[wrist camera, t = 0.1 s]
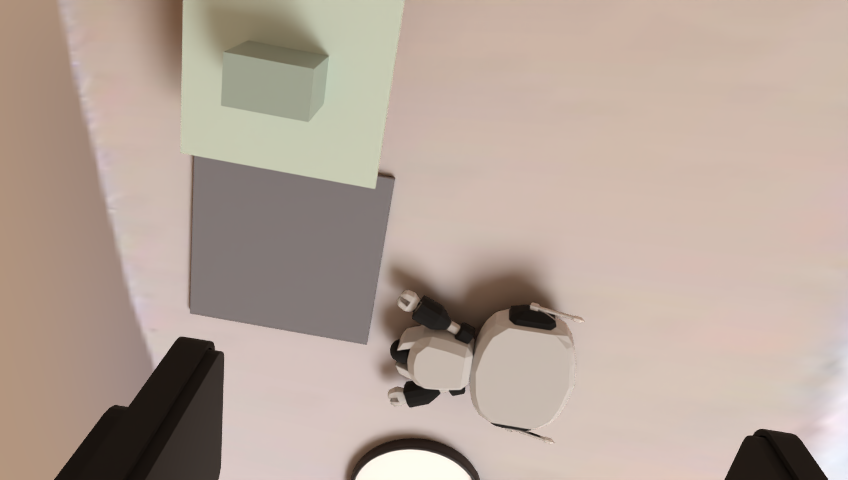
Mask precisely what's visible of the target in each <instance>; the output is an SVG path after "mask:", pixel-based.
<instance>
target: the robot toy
mask: <svg viewBox="0 0 848 480" xmlns="http://www.w3.org/2000/svg"><path fill="white" fill-rule="evenodd" d="M402 297H403V298H402ZM404 298H405V299H404ZM397 302H398V306H399V307H400V308H401V309H403V310H404V311H409V312H414V313H413V315H412V319H413V320H415V321H417V322H419V323H420V324H422V325H421V326H417V327H410V328H407V329H406V330H405V331H404V333H403V334H402V335H401V339H398V340H396V341H395V342H393V344H392V345H391V348H390V353H391V356H392V358H393V359H394V360H396V361H397V362H396V367H397V370H398V372H399V374H401V375H403V376H405V377H407V378H409V379H411V380H412V381H408V382H406V384H405V385H404V388H401V387H395V388H393V389H390V390H389V392H388V398H391V400H390V402H391V404H392V405H393V406H402V405H404V404H405V403H406V402H407V404H408V406H409V407H415V406H420V405H425V404H429V403H430V402H431V401H433V400H434V399H435V398H436V397H437V396H438V395H439V394H440V393H445V392H450V394H451V395H452V396H455V395H460V394H464V393H465V386H466V385H468V382H469V376H470V393H471V399H472V402H473V405H474V407H475V409H476V410H477V412H478V413H479V415H481V416H482V417H483V418H485V419H486V420H488V421H489V422H491V424H493V425H495V426H498V427H501V428H505V430H508V431H511V432H512V431H516V432H519V433H522V434H525V435H528V436H531V437H533V438H536V439H539V440H542V441H544V442H545V443H548V444H552V443H554V441H553V440H552V439H551V438H548V437H543V436H540V435H537V434H534V433H531V432H528V431H529V430H535V429H538V428H541V427H544V426H547V425H548V424H549V423H551V422H552V421H554V420H555V419H556V418H557V417H558V416H559V414H560V413H561V411H562V410H563V408H564V407H565V405H566V403H567V401H568V399H569V397H570V395H571V392H572V390H573V388H574V386H575V373H576V358H575V349H574V343H573V337H572V333H571V331H570V330H569V328H568V326H567V324H566V323H565V322H563V321H562V320H560V319H558V318H557V317H555V315H557V316H561V317H564V318H568V319H571V320H573V321H575V322H579V323H581V322H585V321H584V320H583V319H582V318H581V317H578V316H572V315H568V314H565V313H561V312H558V311H554V310H551V309H547V308H544V307H541V306H540V304H537V303H533V302H532V303H531V305H520V306H511V308H510V309H506V310H502V311H498V312H496V313H495V314H493V315H492V316H491V317H490V318H489V319H488V320H487V321H486V322H485V323H484V325H483V327H482V328H481V330H480V332H479V334H478V336H477V339H476V342H475V345H474V338H473V337H474V333H475V328H473V327H471V326H470V325H468V324H466V323H465V322H463V323H461V324H460V325H458V324H457V323H455V322H453V321H452V320H451V319H450V317H449V315H448V313H447V312H446V310H445V309H444V307H443V306H442V305H440V304H439V303H437V302H435V301H434V300H432V299H430V298H429V297H427V296H425V295H424V297H423V298H422V299H421V300H420V298H419V297H418V296H417V294H416V293H415V292H412V291H409V290H406V291H403V293H402V295H401V297H399V299H398V301H397Z"/></svg>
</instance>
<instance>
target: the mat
mask: <svg viewBox="0 0 848 480" xmlns="http://www.w3.org/2000/svg"><path fill="white" fill-rule="evenodd" d="M394 181H395V178H393V177H388V176H383V175H378V176H377V183H376V187H375V189H372V188H367V187H361V186H356V185H351V184H345V183H340V182H334V181H329V180H324V179H318V178H313V177H307V176H302V175H297V174H291V173H286V172H280V171H275V170H270V169H264V168H259V167H253V166H248V165H243V164H237V163H232V162H226V161H221V160H216V159H210V158H205V157H199V156H194V179H193V217H192V256H191V294H190V313H191V314H196V315H202V316H208V317H213V318H219V319H224V320H230V321H236V322H241V323H247V324H253V325H258V326H264V327H269V328H275V329H281V330H286V331H292V332H298V333H303V334H309V335H315V336H320V337H326V338H331V339H337V340H343V341H348V342H354V343H360V344H365V345H367V341H368V335H369V329H370V323H371V317H372V311H373V305H374V299H375V293H376V288H377V282H378V276H379V270H380V264H381V258H382V252H383V246H384V240H385V234H386V228H387V222H388V216H389V210H390V204H391V198H392V193H393V187H394Z"/></svg>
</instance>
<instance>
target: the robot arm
mask: <svg viewBox="0 0 848 480" xmlns="http://www.w3.org/2000/svg"><path fill="white" fill-rule="evenodd" d="M223 380H224V353H223V352H222V351H216V350H215V346H214V343H213V342H212V341H206V340H200V339H194V338H187V337H179V338H178V339H177V340H176V341H175V342H174V344H173V345H172V347H171V348H170V349H169V351H168V352H167V354H166V355H165V356H164V358H163V359H162V361H161V362H160V363H159V365H158V366H157V368H156V369H155V370H154V372H153V373H152V375H151V376H150V377H149V379H148V380H147V382H146V383H145V384H144V386H143V387H142V389H141V390H140V391H139V393H138V394H137V396H136V397H135V398H134V400H133V401H132V403H131V404H130V405H129V407H125V406H118V405H114V406H112V407H110V408H109V409H108V410H107V411H106V412H105V413H104V414H103V416H102V417H101V418H100V420H99V421H98V422H97V424H96V425H95V426H94V428H93V429H92V430H91V432H90V433H89V434H88V436H87V437H86V438H85V439H84V441H83V442H82V444H81V445H80V446H79V447H78V449H77V450H76V452H75V453H74V454H73V455H72V457H71V458H70V459H69V461H68V462H67V463H66V465H65V466H64V467H63V469H62V470H61V471H60V473H59V474H58V476H57V477H56V478H55V479H54V480H218V479H219V475H220V469H221V446H222V413H223ZM725 480H828V478H827V477H826V476H825V474H824V473H823V471H822V470H821V468H820V467H819V465H818V464H817V463H816V461H815V460H814V458H813V457H812V455H811V454H810V453H809V451H808V450H807V448H806V447H805V445H804V444H803V442H802V441H801V440H800V439H799V438H798V436H796V435H794V434H791V433H785V432H779V431H773V430H766V429H759V430H757V431H756V432H755V433H754V434H753V436H747V437H746V438H745V439H744V440H743V442H742V444H741V446H740V448H739V451H738V453H737V455H736V457H735V459H734V461H733V463H732V465H731V467H730V469H729V471H728V474H727V476H726V478H725Z"/></svg>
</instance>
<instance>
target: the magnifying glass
mask: <svg viewBox="0 0 848 480" xmlns="http://www.w3.org/2000/svg"><path fill="white" fill-rule="evenodd" d="M351 480H480V478H479V475H478V473H477V471H476V470H475V468H474V467H473V465H472V464H471V463H470V462H469V461H468V460H467V459H466V458H465V457H464V456H463V455H462V454H461V453H459V452H457V451H456V450H454V449H453V448H451V447H449V446H447V445H444V444H441V443H439V442H435V441H431V440H426V439H414V438H410V439H399V440H394V441H390V442H386V443H384V444H381V445H379V446H377V447H375V448H374V449H372V450H370V451H369V452H368V453H366V454H365V455H364V456H363V457H362V458H361V459H360V461H359V462H358V463H357V465H356V467H355V469H354V471H353V474H352V477H351Z"/></svg>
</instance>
